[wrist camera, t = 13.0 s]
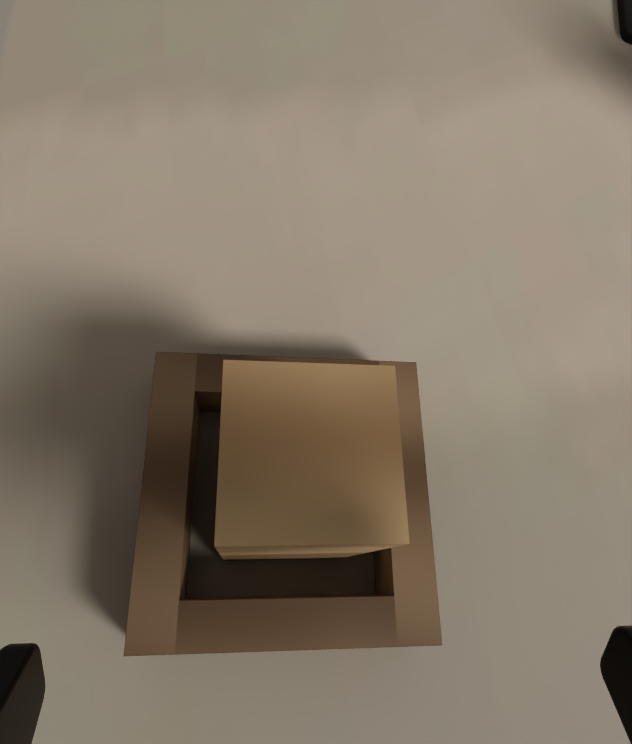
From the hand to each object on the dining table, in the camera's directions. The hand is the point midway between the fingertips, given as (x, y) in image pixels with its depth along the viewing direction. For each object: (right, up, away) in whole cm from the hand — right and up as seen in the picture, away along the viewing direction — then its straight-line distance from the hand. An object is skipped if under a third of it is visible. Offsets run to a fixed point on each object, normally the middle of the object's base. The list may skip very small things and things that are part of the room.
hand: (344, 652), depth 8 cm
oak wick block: (-2, -1, +12) cm, 13 cm away
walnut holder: (-2, -1, +12) cm, 13 cm away
